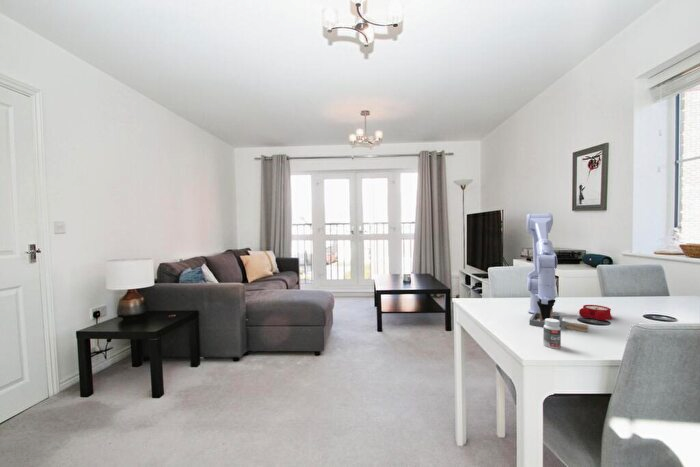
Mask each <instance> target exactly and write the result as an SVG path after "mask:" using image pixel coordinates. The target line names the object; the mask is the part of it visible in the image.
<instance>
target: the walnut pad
mask: <svg viewBox="0 0 700 467" xmlns="http://www.w3.org/2000/svg"><path fill="white" fill-rule="evenodd" d="M588 327H589V326H588V324H583V323H576V322H569V321H568V322H567V323H566V327H565V329H566V330H570V331H577V332H584V333H588Z"/></svg>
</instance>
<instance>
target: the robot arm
mask: <svg viewBox="0 0 700 467" xmlns="http://www.w3.org/2000/svg"><path fill="white" fill-rule="evenodd" d="M525 217H526V218H525V220H526V221H525V222H526V232H527V234H530V235H531V239H532V255H533V257H532V259H533V270H531V271H530V272H528V273H527V275H526V289H527V291H528V292H530V293H529V294H530V296H529V297H530V299H529V300H530V302H529V303H530V304H529V310H528V312H527V313H529V314H533V313H534V312H537V313H540V311H541V316H542V319H543V320H545V319H547V318H550V313H551V309H552V308H553V307H554V305H555V303H556V270H557V268H558V258H557V257H558V256H557V254H556V252H554V247H553V242H552V241H551V240H549V233H551V230H552V227H553V224H554V217H553V214H552V213H528V214H527V215H526V216H525Z"/></svg>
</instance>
